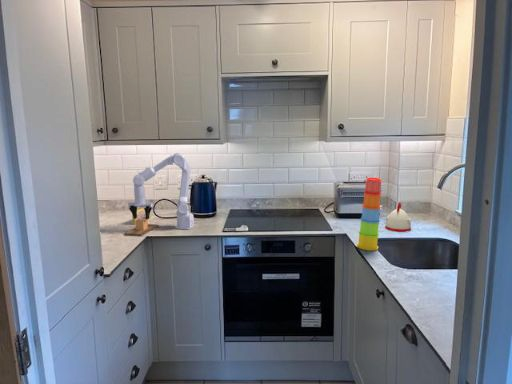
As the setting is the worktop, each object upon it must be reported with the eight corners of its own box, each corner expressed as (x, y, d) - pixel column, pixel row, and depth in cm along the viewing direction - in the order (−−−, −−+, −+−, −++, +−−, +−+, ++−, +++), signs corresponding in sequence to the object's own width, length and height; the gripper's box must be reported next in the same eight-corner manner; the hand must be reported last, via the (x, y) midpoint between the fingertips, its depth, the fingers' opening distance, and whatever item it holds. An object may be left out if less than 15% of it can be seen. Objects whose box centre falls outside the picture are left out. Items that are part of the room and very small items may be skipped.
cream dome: (412, 227, 219) (414, 202, 217) (408, 233, 208) (410, 207, 205) (387, 224, 226) (389, 200, 224) (382, 230, 215) (384, 204, 212)
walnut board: (158, 226, 227) (158, 224, 226) (141, 236, 207) (140, 234, 207) (143, 225, 229) (142, 223, 229) (124, 235, 210) (124, 233, 209)
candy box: (135, 225, 231) (134, 212, 229) (132, 224, 232) (131, 211, 230) (150, 218, 246) (149, 206, 244) (147, 218, 247) (147, 206, 245)
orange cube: (148, 227, 220) (147, 219, 219) (143, 230, 215) (143, 221, 214) (140, 227, 221) (139, 219, 220) (135, 229, 216) (135, 221, 215)
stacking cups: (372, 243, 191) (375, 176, 185) (382, 250, 181) (386, 179, 175) (353, 244, 189) (356, 176, 183) (362, 251, 179) (365, 180, 173)
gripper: (124, 196, 212) (126, 220, 215) (147, 197, 209) (149, 221, 211) (131, 194, 219) (132, 217, 221) (153, 195, 216) (155, 218, 218)
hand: (141, 218), depth 217 cm, fingers open, 7 cm apart
